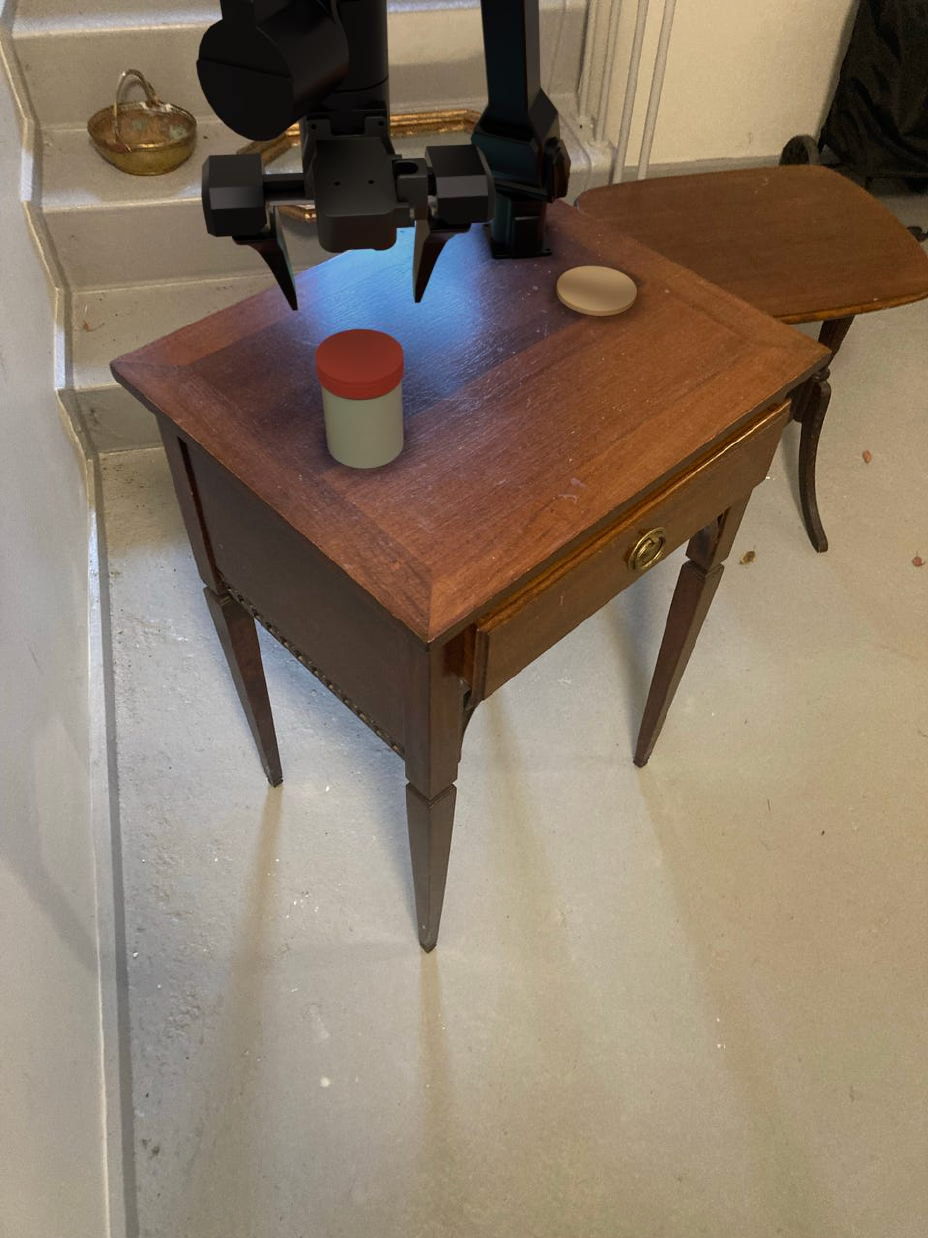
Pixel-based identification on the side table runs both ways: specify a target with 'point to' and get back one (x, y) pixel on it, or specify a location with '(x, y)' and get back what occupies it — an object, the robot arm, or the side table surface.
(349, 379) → the jar lid
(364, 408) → the jar
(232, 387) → the side table surface
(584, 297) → the coaster
